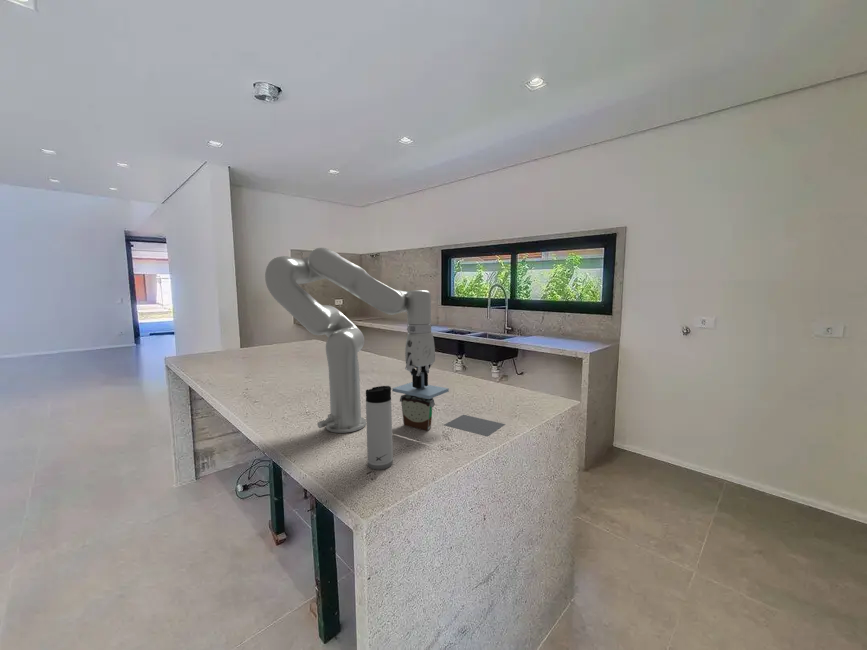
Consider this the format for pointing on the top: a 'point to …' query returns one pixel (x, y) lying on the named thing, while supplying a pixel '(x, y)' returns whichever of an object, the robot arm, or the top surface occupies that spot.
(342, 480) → the top surface
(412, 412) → the food container
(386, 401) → the travel mug
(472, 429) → the mat
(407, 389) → the lid
